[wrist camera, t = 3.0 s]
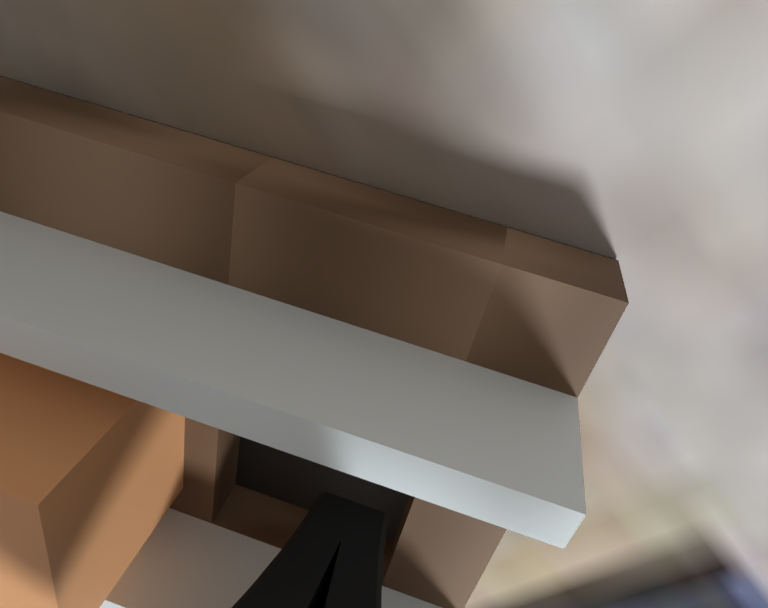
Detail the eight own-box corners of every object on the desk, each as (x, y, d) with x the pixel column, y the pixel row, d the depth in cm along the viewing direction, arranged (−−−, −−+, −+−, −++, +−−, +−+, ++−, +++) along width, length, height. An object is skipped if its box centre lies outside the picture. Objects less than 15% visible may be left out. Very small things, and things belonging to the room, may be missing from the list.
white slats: (577, 397, 10) (586, 514, 8) (451, 630, 14) (435, 746, 12) (-38, 198, 11) (-176, 254, 9) (21, 472, 15) (-63, 552, 13)
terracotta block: (183, 487, 14) (67, 653, 10) (21, 429, 14) (-139, 571, 11) (186, 347, 11) (37, 505, 8) (-8, 282, 12) (-227, 406, 8)
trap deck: (617, 260, 10) (628, 303, 9) (439, 614, 16) (431, 668, 15) (-295, -12, 12) (-395, -9, 10) (-129, 406, 18) (-179, 439, 17)
